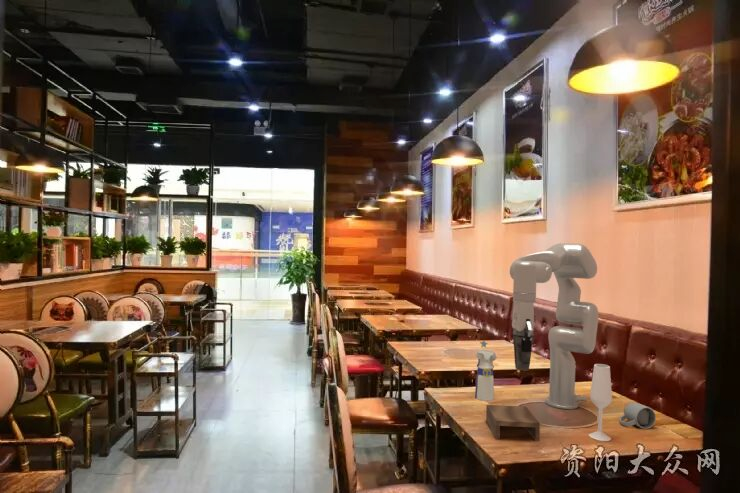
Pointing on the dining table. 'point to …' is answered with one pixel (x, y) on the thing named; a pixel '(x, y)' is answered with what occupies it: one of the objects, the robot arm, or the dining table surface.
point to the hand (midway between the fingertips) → (522, 349)
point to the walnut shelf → (511, 419)
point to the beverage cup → (521, 357)
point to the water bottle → (485, 374)
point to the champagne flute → (601, 396)
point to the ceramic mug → (638, 416)
